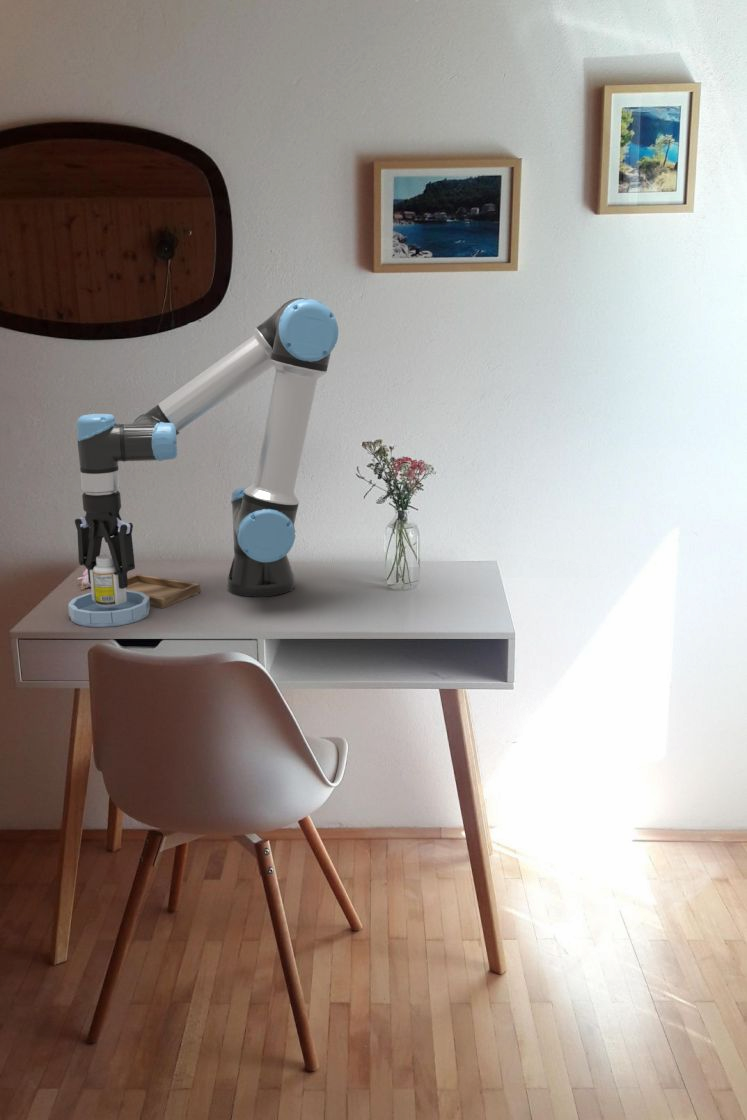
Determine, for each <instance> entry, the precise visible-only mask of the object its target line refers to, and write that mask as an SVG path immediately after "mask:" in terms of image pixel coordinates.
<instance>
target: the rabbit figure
mask: <svg viewBox="0 0 747 1120" xmlns="http://www.w3.org/2000/svg"><path fill="white" fill-rule="evenodd" d="M85 568H86V567H85ZM81 580H82V581H81ZM77 581H81V587H80V590H81V591H82V590H83V591H84V590H85V588H86V589H89V588H91V584H90V583H89V580H88V569H87V568H86V569H85V570H84V571H83V573H82V576H80V577H77Z"/></svg>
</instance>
